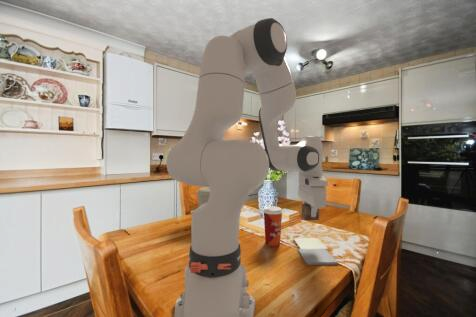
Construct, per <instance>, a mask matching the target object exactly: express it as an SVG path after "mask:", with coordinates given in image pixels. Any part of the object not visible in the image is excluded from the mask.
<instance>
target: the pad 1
mask: <svg viewBox="0 0 476 317" xmlns="http://www.w3.org/2000/svg"><path fill="white" fill-rule="evenodd" d="M294 241H295V242H294ZM293 242H294V243H295V245H296V244H297V245H296V246H297V247H299V248H298V249H326V250H328V251H329V248H328V247H327V246H326V245H325V244H324V243H323V242H322V241H321V239H319V237H301V238H300V237H296V238H295V237H293Z"/></svg>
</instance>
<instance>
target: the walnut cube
mask: <svg viewBox="0 0 476 317" xmlns="http://www.w3.org/2000/svg"><path fill="white" fill-rule="evenodd" d="M310 211H311V205H310V204H304V203H302V204H301V217H302V219H304V220H305V221H320V209H317V212H316V217H311V216H310Z"/></svg>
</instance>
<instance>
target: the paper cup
mask: <svg viewBox="0 0 476 317" xmlns="http://www.w3.org/2000/svg"><path fill="white" fill-rule="evenodd" d="M262 212H263V222H264V223H263V224H264V236H265V237H264V238H265V245H267V246H269V247H278V246H280V244H281V237H282V236H281V235H282V234H281V232H282V216H283V213H284V211H283V210H282V208H281V207H279V206H274V205H273V206H272V205H271V206H265V207H264V208H263V211H262Z"/></svg>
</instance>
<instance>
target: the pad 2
mask: <svg viewBox="0 0 476 317" xmlns="http://www.w3.org/2000/svg"><path fill="white" fill-rule="evenodd" d="M297 252H298V253H299V255H300V257H302V259H303V261H304V262H305V264H306V265H307V266H318V265H319V266H320V265H321V266H323V265H324V266H325V265H329V266H331V265H334V266H335V265H339V261H337V259H336V258H335V257H334V256H333V255H332V254H331V253H330V252H329V250H328V251H327V250H326V249H299V248H297Z"/></svg>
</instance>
